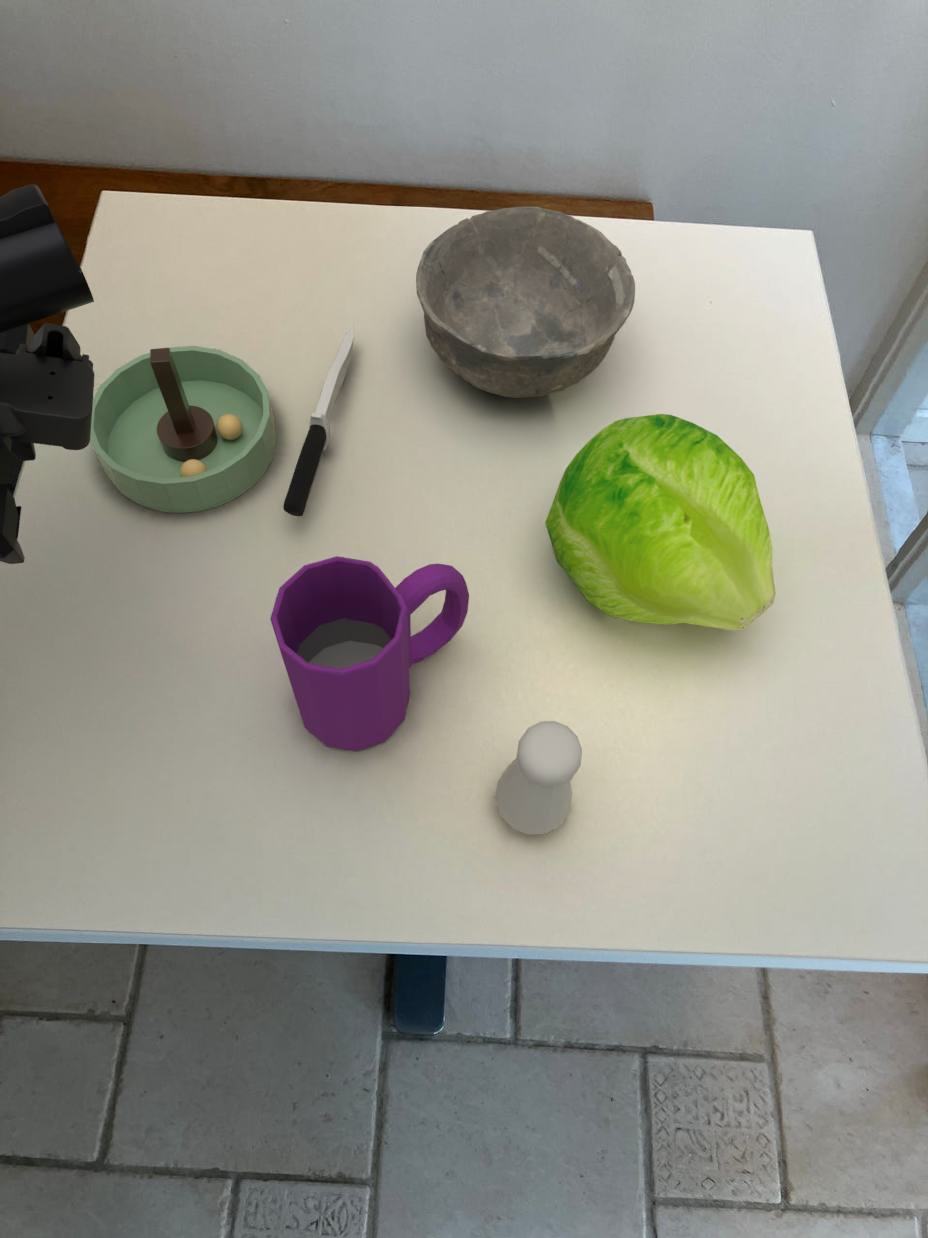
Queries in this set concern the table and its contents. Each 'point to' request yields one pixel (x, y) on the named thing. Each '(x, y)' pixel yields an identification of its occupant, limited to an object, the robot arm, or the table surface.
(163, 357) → the lever handle
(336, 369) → the knife
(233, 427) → the bean
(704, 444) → the lettuce
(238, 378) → the mixing bowl
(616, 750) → the table surface
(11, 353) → the robot arm
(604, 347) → the bowl
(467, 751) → the table surface
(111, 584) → the table surface
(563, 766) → the salt shaker
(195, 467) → the bean
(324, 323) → the table surface
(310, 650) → the mug
